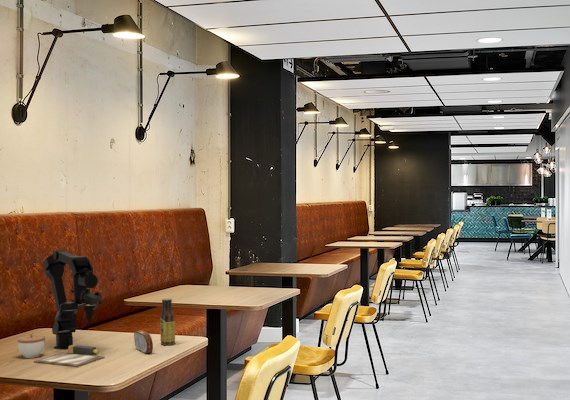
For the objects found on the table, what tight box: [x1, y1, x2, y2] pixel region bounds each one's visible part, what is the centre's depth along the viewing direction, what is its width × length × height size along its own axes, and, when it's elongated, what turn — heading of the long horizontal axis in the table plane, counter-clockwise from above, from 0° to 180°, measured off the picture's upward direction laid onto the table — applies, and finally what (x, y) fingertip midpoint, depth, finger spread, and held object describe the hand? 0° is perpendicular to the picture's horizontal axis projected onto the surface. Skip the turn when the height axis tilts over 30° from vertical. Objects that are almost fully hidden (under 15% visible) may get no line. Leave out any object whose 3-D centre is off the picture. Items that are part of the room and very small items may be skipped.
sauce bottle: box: [159, 297, 176, 346], centre depth 322 cm, size 6×6×20 cm
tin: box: [133, 329, 154, 354], centre depth 309 cm, size 15×3×8 cm, turn 32°
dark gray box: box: [67, 344, 100, 355], centre depth 308 cm, size 14×3×3 cm, turn 64°
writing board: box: [33, 351, 105, 368], centre depth 297 cm, size 22×16×1 cm
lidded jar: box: [17, 333, 46, 359], centre depth 305 cm, size 11×11×9 cm
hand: (82, 324), depth 308 cm, fingers open, 9 cm apart
